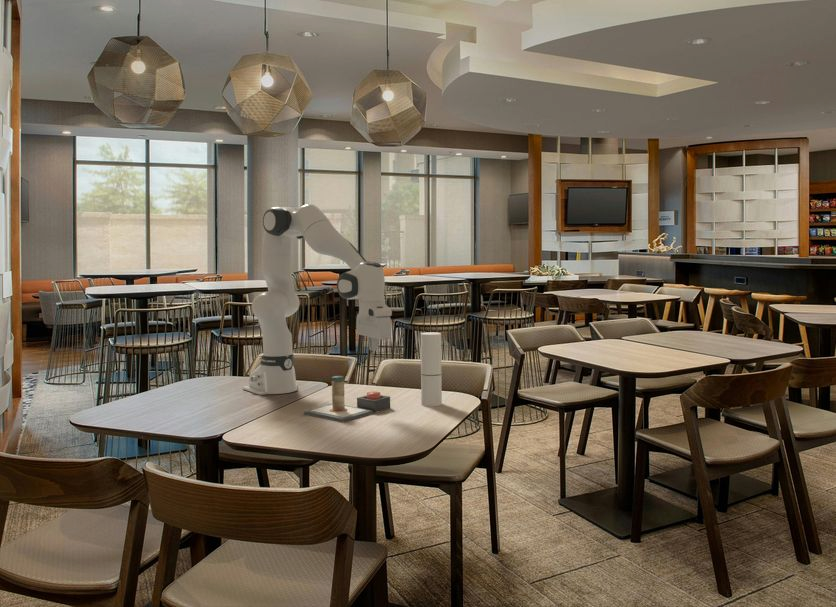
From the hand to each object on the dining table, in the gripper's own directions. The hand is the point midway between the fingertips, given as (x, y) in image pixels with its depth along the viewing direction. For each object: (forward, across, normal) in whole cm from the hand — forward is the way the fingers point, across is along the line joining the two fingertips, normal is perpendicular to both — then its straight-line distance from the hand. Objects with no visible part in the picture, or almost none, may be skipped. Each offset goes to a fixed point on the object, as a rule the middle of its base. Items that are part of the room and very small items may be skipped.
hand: (373, 350), depth 225 cm
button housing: (+20, 0, 0) cm, 20 cm away
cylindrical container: (+21, +4, +20) cm, 29 cm away
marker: (+19, 0, -13) cm, 23 cm away
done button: (+18, 0, 0) cm, 18 cm away
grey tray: (+20, 0, -13) cm, 24 cm away
